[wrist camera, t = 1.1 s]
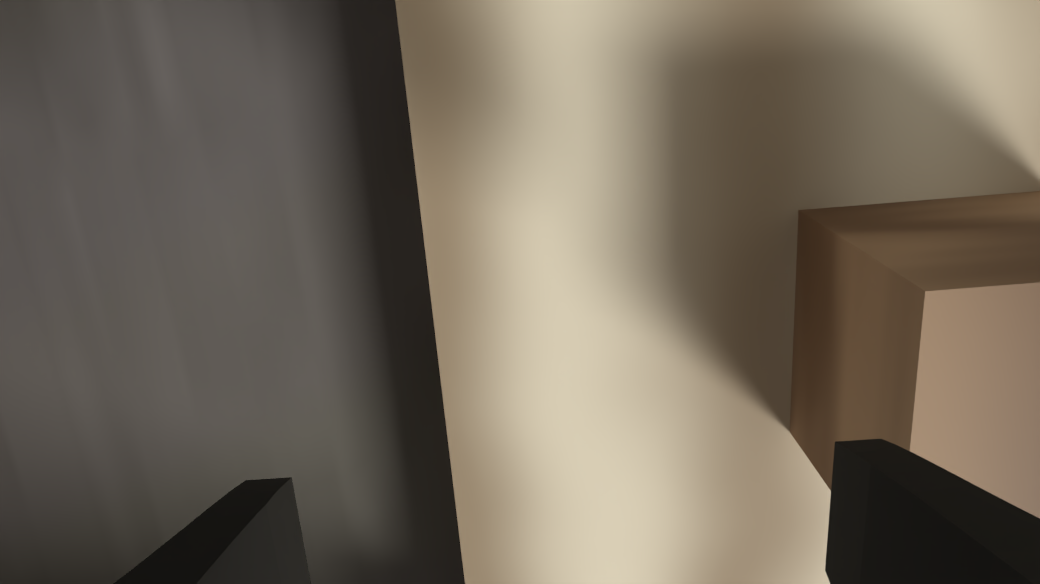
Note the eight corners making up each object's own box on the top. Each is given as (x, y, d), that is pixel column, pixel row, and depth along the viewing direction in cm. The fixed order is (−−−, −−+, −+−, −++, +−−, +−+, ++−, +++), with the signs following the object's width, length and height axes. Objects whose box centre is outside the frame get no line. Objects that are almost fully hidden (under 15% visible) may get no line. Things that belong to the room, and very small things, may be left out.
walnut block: (789, 431, 17) (896, 585, 13) (798, 209, 16) (925, 291, 11) (1017, 413, 17) (1209, 561, 13) (1049, 190, 16) (1283, 263, 11)
